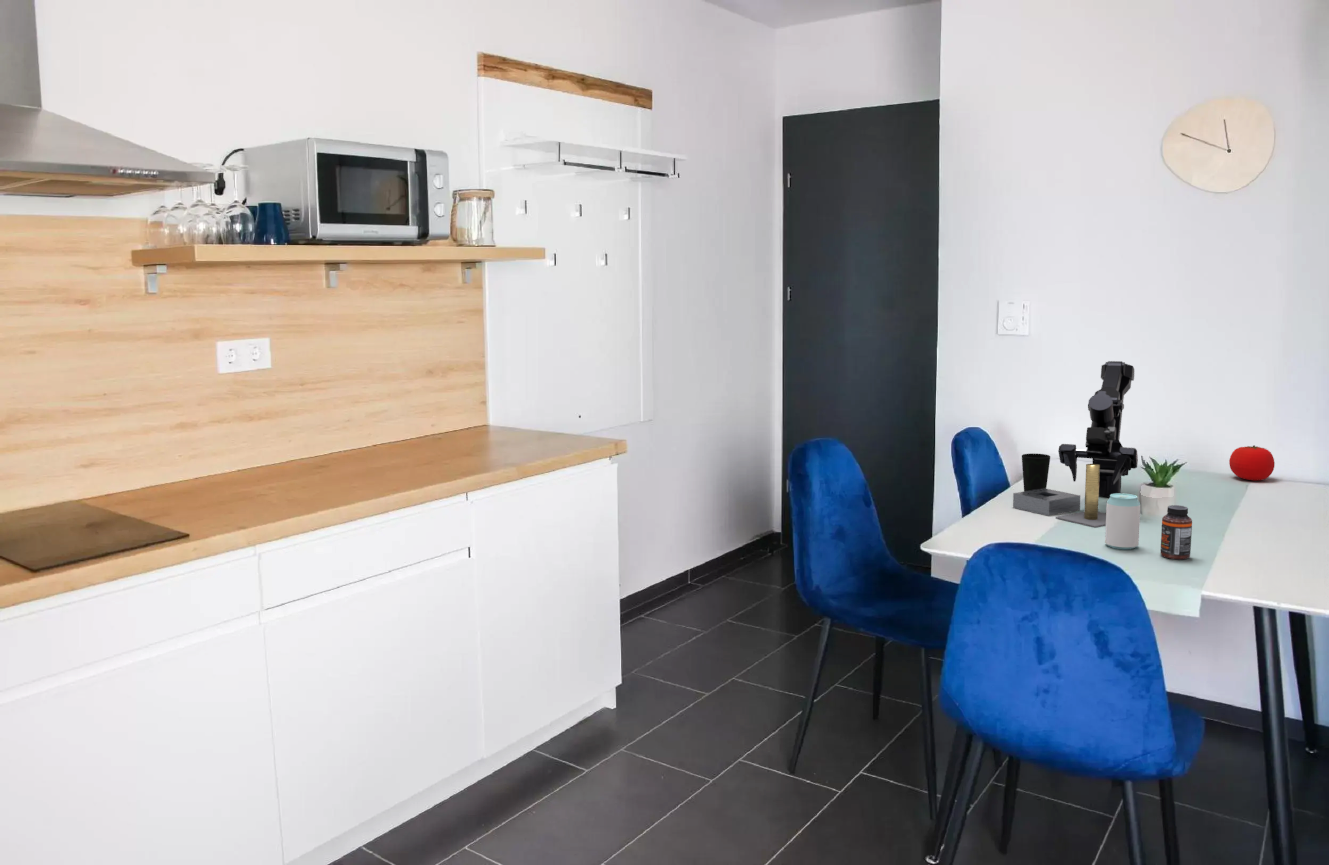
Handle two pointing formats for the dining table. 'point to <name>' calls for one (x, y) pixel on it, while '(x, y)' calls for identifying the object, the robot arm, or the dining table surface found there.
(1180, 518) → the supplement bottle
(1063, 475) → the dining table surface
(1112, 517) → the can
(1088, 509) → the pin
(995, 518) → the dining table surface
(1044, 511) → the grey square hole block
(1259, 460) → the tomato
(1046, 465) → the cup
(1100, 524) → the mat
